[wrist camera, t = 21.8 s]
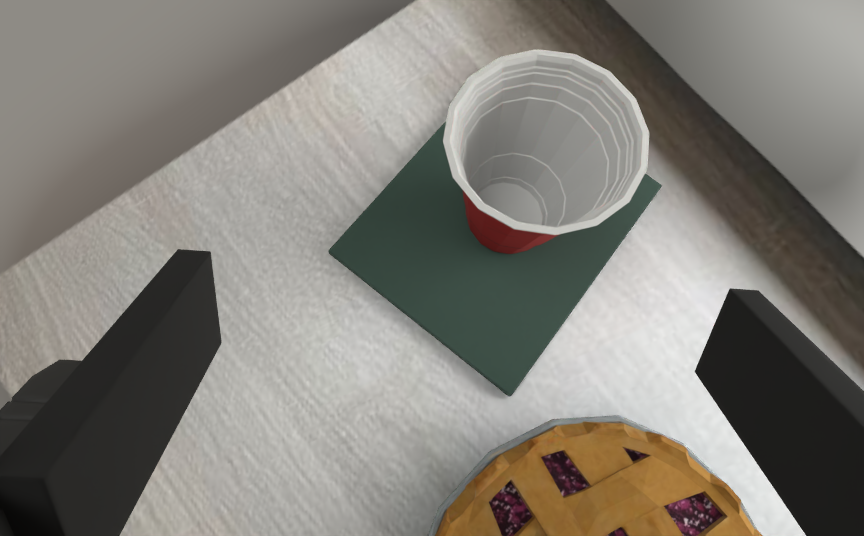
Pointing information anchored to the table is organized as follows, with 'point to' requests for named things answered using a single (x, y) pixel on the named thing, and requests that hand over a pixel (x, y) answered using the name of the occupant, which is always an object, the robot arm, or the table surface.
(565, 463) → the pie
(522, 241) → the plastic cup
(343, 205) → the table surface
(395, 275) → the placemat
